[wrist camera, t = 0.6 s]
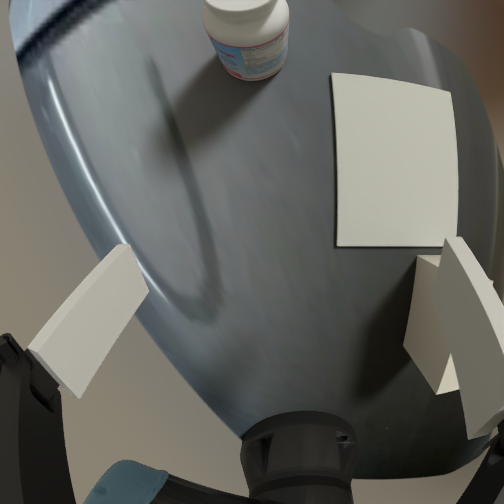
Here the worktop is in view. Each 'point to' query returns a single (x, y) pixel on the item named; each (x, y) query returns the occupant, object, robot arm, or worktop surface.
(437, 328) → the cream rectangular block
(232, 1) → the pill bottle
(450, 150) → the mat
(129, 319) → the robot arm
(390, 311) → the worktop surface
